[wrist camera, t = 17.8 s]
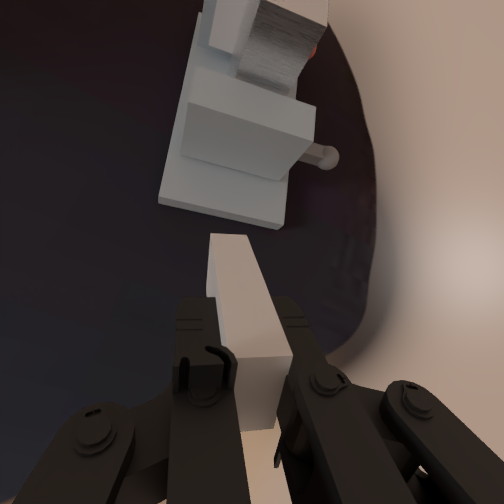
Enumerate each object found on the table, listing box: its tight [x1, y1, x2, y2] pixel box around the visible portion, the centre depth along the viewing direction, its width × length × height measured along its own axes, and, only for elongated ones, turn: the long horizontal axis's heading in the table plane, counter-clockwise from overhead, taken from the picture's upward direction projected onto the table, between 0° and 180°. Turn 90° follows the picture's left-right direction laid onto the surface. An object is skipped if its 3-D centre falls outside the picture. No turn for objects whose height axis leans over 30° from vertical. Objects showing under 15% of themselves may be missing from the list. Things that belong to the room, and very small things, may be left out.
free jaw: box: [180, 65, 339, 181], centre depth 25 cm, size 13×4×6 cm, turn 83°
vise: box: [158, 0, 329, 230], centre depth 26 cm, size 12×21×8 cm, turn 173°
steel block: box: [227, 0, 329, 96], centre depth 23 cm, size 4×8×12 cm, turn 173°
